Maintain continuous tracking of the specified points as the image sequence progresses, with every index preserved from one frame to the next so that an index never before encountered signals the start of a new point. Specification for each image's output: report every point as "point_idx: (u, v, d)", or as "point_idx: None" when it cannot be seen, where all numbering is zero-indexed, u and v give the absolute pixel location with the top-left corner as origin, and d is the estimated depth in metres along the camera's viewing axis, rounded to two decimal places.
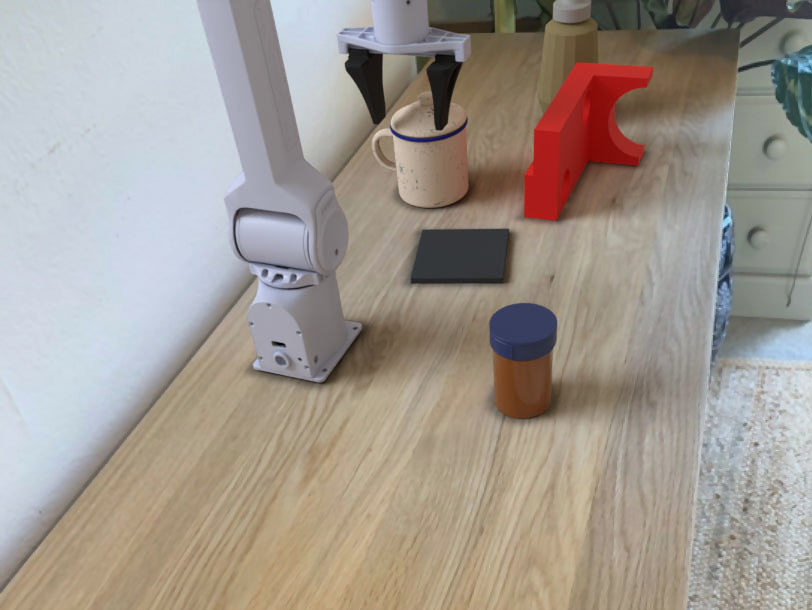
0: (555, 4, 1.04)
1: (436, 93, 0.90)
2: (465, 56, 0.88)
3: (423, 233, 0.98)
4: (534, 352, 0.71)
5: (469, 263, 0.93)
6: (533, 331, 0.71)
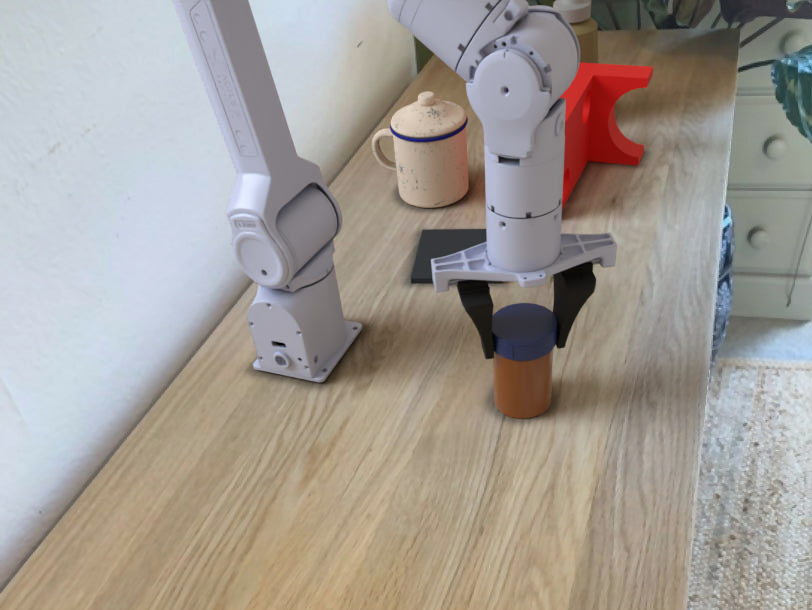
0: (555, 4, 1.04)
1: None
2: None
3: (423, 233, 0.98)
4: (534, 352, 0.71)
5: None
6: (533, 331, 0.71)
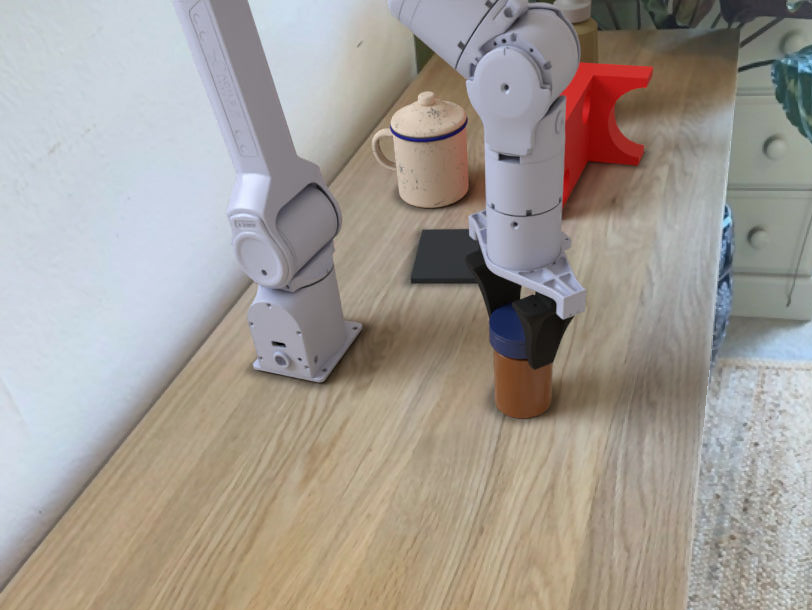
0: (555, 4, 1.04)
1: (526, 331, 0.68)
2: (567, 314, 0.64)
3: (423, 233, 0.98)
4: None
5: None
6: None
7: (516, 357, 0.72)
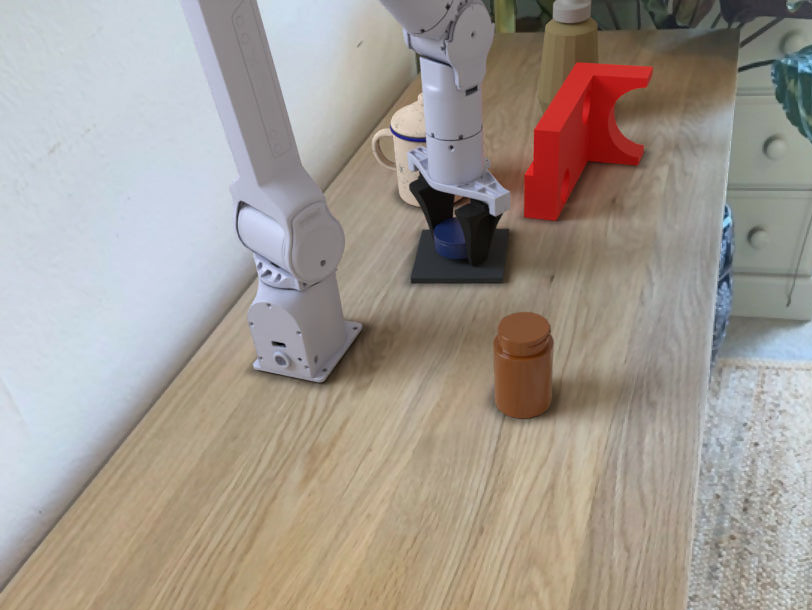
0: (555, 4, 1.04)
1: (466, 233, 0.89)
2: (498, 212, 0.85)
3: (423, 233, 0.98)
4: None
5: None
6: None
7: (459, 258, 0.92)
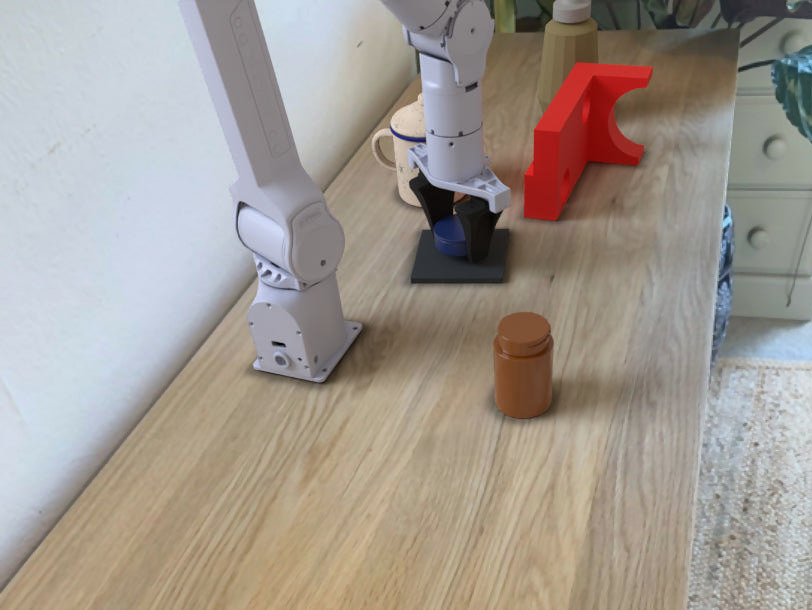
0: (555, 4, 1.04)
1: (466, 230, 0.89)
2: (498, 208, 0.84)
3: (423, 233, 0.98)
4: None
5: (469, 263, 0.93)
6: None
7: (459, 255, 0.92)
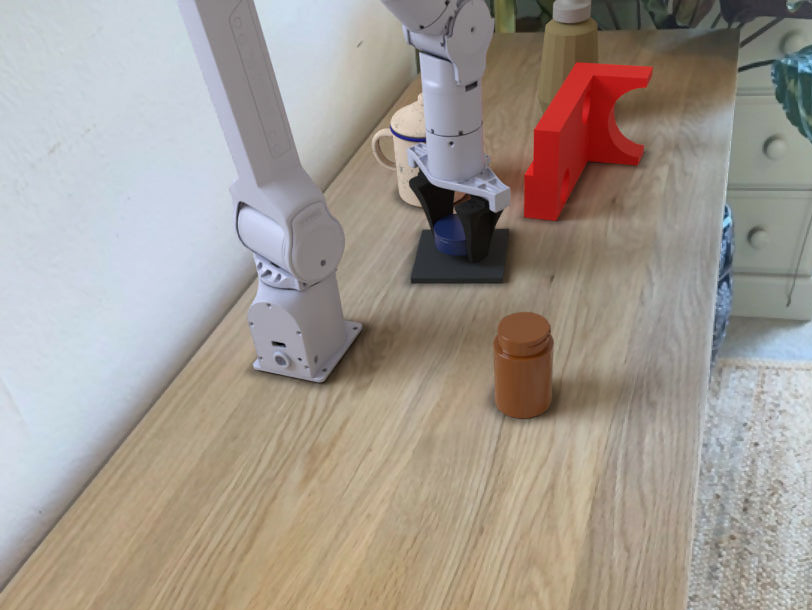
0: (555, 4, 1.04)
1: (466, 230, 0.89)
2: (498, 208, 0.84)
3: (423, 233, 0.98)
4: None
5: (469, 263, 0.93)
6: None
7: (459, 254, 0.92)
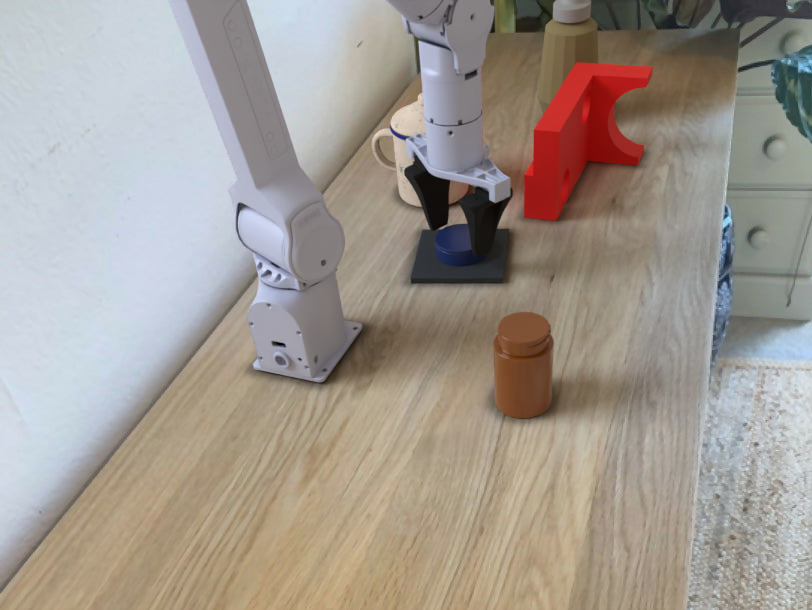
0: (555, 4, 1.04)
1: (470, 223, 0.87)
2: (498, 198, 0.84)
3: (423, 233, 0.98)
4: None
5: None
6: (467, 230, 0.94)
7: (460, 265, 0.93)
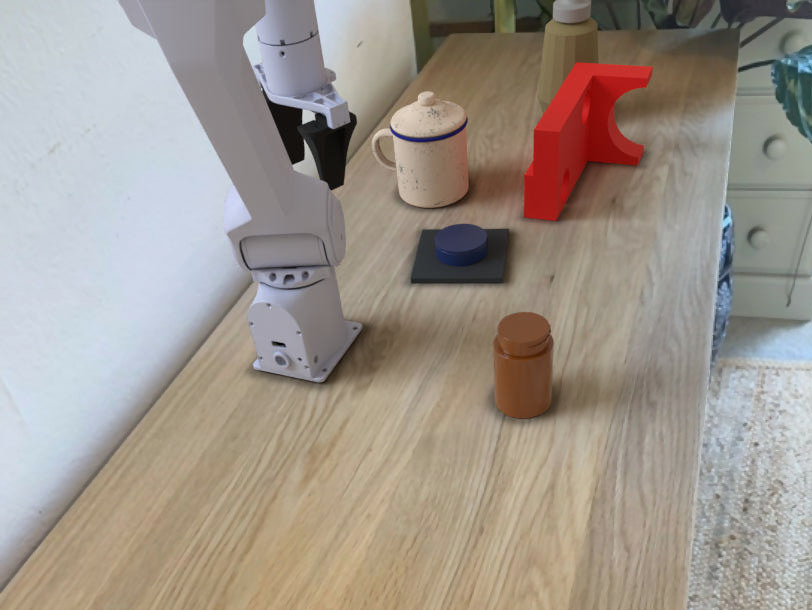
0: (555, 4, 1.04)
1: (313, 153, 0.83)
2: (336, 124, 0.79)
3: (423, 233, 0.98)
4: None
5: None
6: (467, 230, 0.94)
7: (460, 265, 0.93)
